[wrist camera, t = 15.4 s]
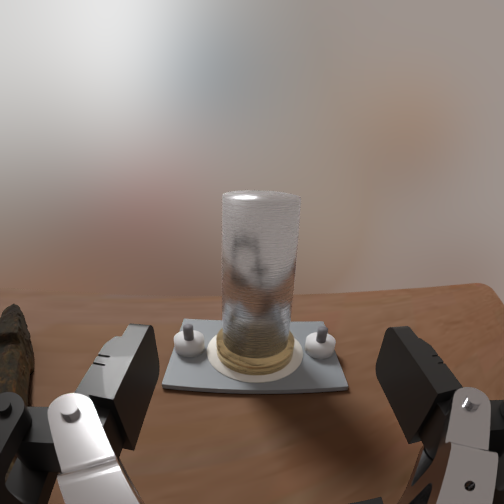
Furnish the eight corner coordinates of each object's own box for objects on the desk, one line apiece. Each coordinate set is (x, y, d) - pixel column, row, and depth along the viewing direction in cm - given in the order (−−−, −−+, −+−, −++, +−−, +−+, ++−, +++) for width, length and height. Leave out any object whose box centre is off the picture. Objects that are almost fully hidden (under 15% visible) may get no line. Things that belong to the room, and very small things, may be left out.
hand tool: (52, 522, 7) (5, 481, 6) (-5, 517, 6) (-55, 472, 4) (53, 336, 23) (41, 293, 22) (18, 340, 21) (4, 297, 20)
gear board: (162, 388, 19) (157, 361, 18) (184, 322, 27) (182, 298, 27) (347, 389, 19) (354, 363, 18) (322, 325, 28) (326, 301, 27)
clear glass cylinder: (213, 374, 20) (208, 202, 16) (220, 328, 26) (219, 188, 22) (297, 375, 20) (318, 206, 16) (288, 330, 26) (300, 191, 22)
